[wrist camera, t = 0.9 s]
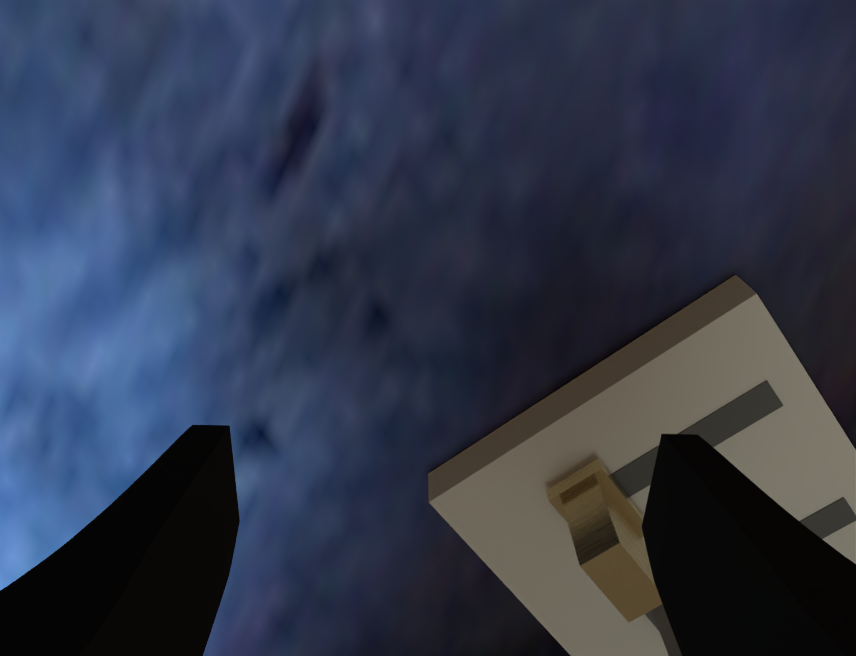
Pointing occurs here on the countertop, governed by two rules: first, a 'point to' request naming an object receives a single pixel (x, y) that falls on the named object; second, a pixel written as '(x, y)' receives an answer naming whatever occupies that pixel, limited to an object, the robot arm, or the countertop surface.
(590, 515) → the yellow slider knob
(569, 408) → the panel
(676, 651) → the grey slider knob
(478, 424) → the countertop surface
